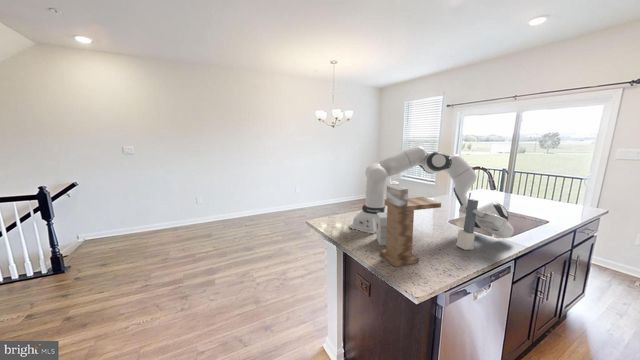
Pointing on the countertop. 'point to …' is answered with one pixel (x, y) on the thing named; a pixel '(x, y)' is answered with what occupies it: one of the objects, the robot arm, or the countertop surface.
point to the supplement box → (381, 228)
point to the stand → (402, 224)
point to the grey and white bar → (468, 227)
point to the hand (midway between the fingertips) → (469, 209)
